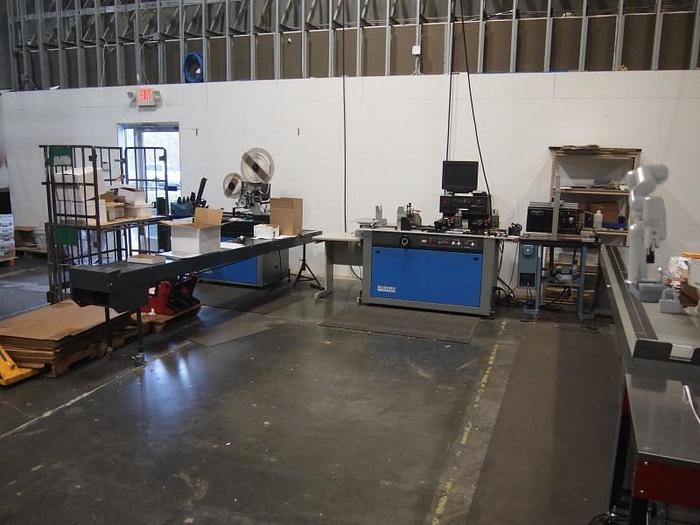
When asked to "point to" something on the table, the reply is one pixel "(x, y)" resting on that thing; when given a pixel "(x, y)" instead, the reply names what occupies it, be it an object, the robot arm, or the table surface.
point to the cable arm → (663, 272)
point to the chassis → (648, 290)
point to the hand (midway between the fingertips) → (650, 263)
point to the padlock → (669, 303)
